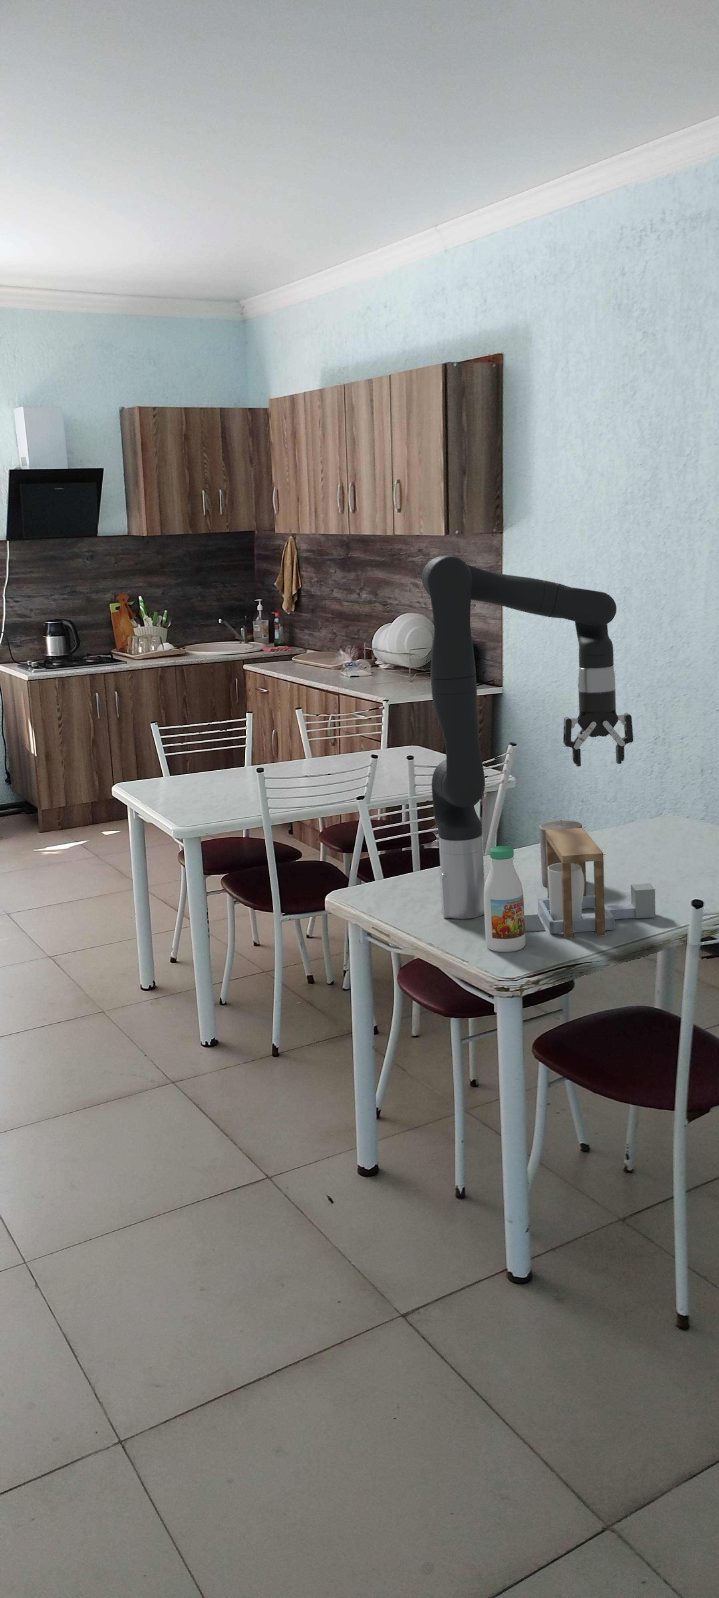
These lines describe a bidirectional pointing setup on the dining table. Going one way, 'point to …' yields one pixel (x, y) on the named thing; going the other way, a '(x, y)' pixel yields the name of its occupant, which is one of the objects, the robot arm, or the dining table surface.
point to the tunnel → (581, 850)
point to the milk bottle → (503, 903)
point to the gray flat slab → (533, 923)
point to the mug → (556, 891)
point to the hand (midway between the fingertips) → (598, 764)
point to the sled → (606, 910)
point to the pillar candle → (546, 826)
